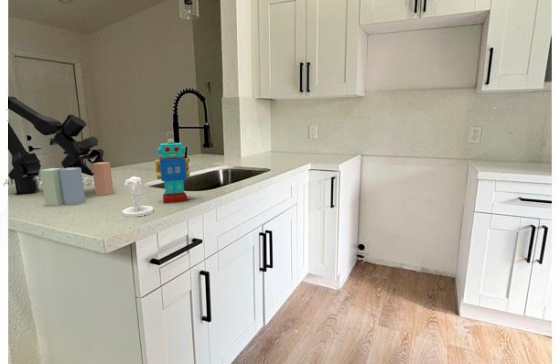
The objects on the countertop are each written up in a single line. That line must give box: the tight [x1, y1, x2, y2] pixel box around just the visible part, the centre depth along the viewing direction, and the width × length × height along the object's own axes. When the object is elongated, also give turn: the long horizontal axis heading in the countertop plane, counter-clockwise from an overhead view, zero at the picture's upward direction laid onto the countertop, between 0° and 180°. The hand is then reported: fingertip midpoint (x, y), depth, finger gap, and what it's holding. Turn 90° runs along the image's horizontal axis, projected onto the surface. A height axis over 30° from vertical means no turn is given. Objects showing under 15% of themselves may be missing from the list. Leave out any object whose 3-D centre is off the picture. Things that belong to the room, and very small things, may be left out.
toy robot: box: [154, 131, 191, 204], centre depth 117 cm, size 12×6×25 cm, turn 114°
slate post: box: [60, 168, 86, 206], centre depth 115 cm, size 4×4×12 cm
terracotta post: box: [91, 161, 114, 196], centre depth 128 cm, size 4×4×12 cm
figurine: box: [122, 176, 154, 218], centre depth 104 cm, size 9×9×12 cm
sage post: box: [39, 167, 65, 207], centre depth 114 cm, size 4×4×12 cm
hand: (100, 172), depth 128 cm, fingers open, 9 cm apart
